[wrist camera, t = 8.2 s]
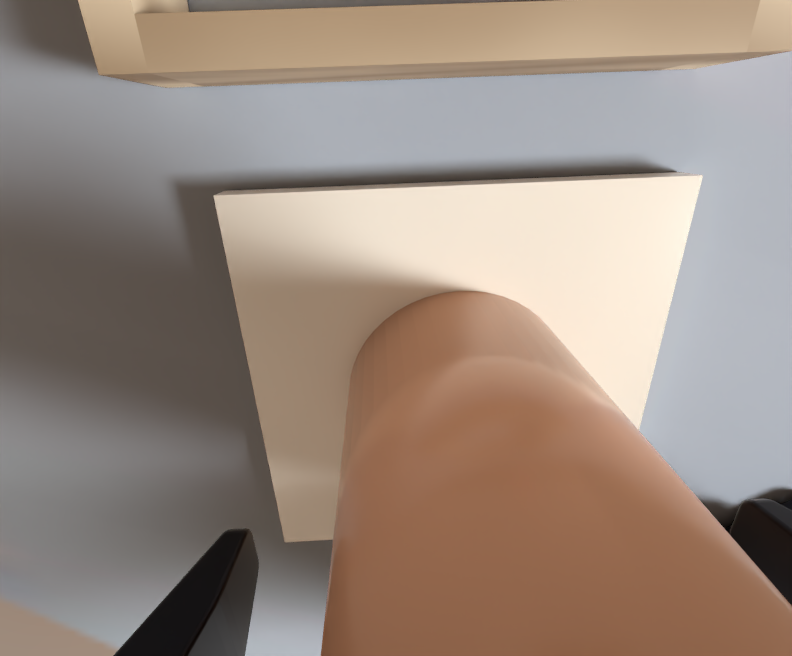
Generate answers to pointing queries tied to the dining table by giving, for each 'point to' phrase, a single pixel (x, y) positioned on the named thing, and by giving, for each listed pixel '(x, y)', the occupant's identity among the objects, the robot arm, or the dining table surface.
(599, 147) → the dining table surface
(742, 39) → the wooden square frame
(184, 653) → the robot arm
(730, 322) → the dining table surface
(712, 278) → the dining table surface
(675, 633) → the pot
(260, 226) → the tile
